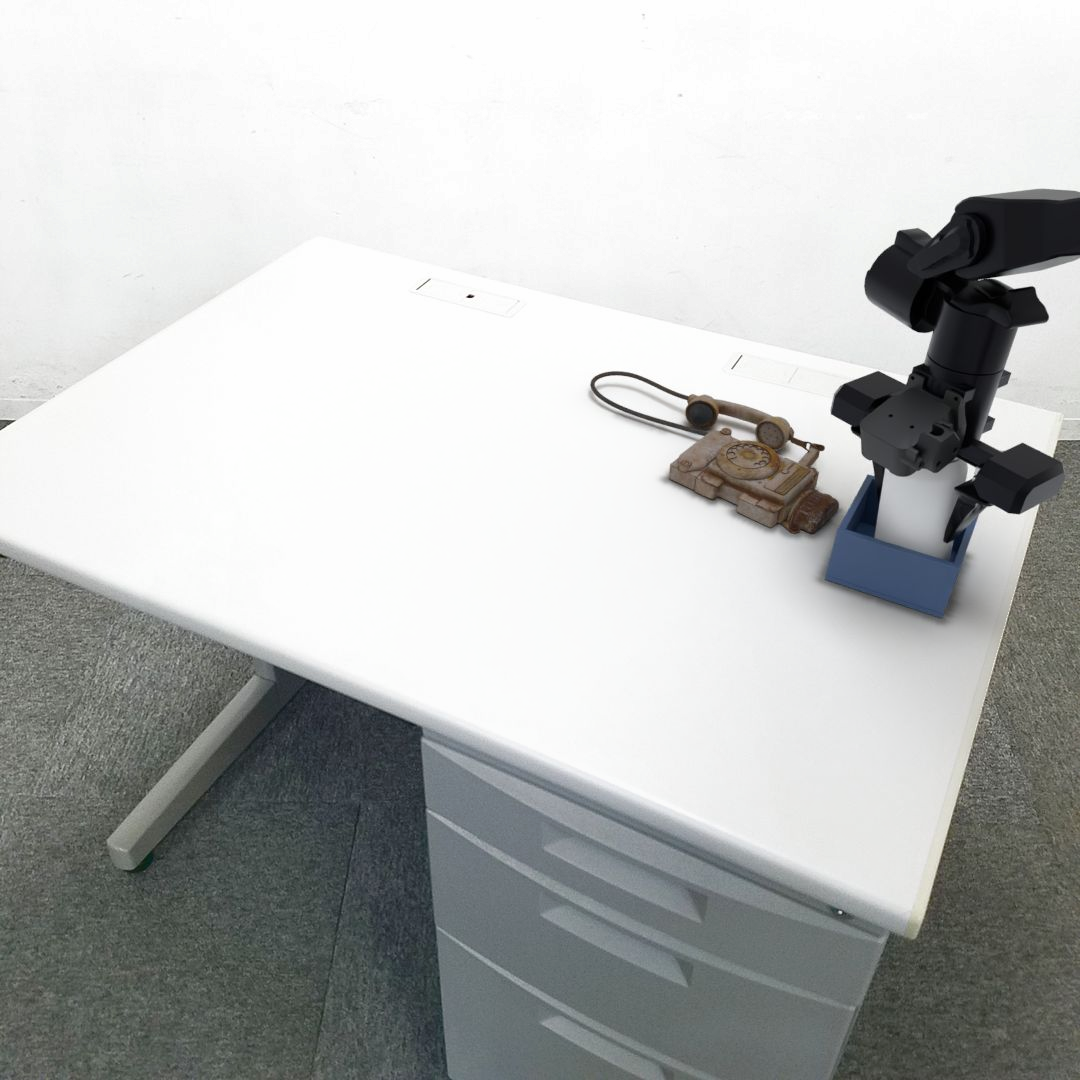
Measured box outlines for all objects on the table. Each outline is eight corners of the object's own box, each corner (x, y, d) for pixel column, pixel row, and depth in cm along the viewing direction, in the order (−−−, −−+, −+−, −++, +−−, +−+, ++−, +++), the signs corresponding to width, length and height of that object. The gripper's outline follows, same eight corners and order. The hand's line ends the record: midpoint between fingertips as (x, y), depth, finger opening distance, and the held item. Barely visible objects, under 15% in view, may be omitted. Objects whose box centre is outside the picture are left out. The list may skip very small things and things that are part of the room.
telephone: (619, 371, 116) (621, 339, 113) (875, 475, 99) (884, 441, 96) (537, 424, 107) (537, 391, 105) (802, 548, 90) (810, 512, 88)
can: (863, 577, 85) (881, 457, 79) (878, 540, 90) (897, 424, 84) (940, 594, 82) (966, 471, 76) (952, 555, 87) (977, 437, 81)
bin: (941, 618, 82) (959, 568, 79) (824, 579, 86) (837, 530, 83) (964, 554, 89) (981, 506, 86) (854, 521, 93) (867, 473, 90)
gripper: (803, 338, 77) (771, 498, 86) (1009, 441, 65) (946, 615, 74) (895, 307, 82) (855, 461, 91) (1102, 397, 70) (1031, 565, 79)
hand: (914, 520), depth 84 cm, fingers closed on can, 6 cm apart
